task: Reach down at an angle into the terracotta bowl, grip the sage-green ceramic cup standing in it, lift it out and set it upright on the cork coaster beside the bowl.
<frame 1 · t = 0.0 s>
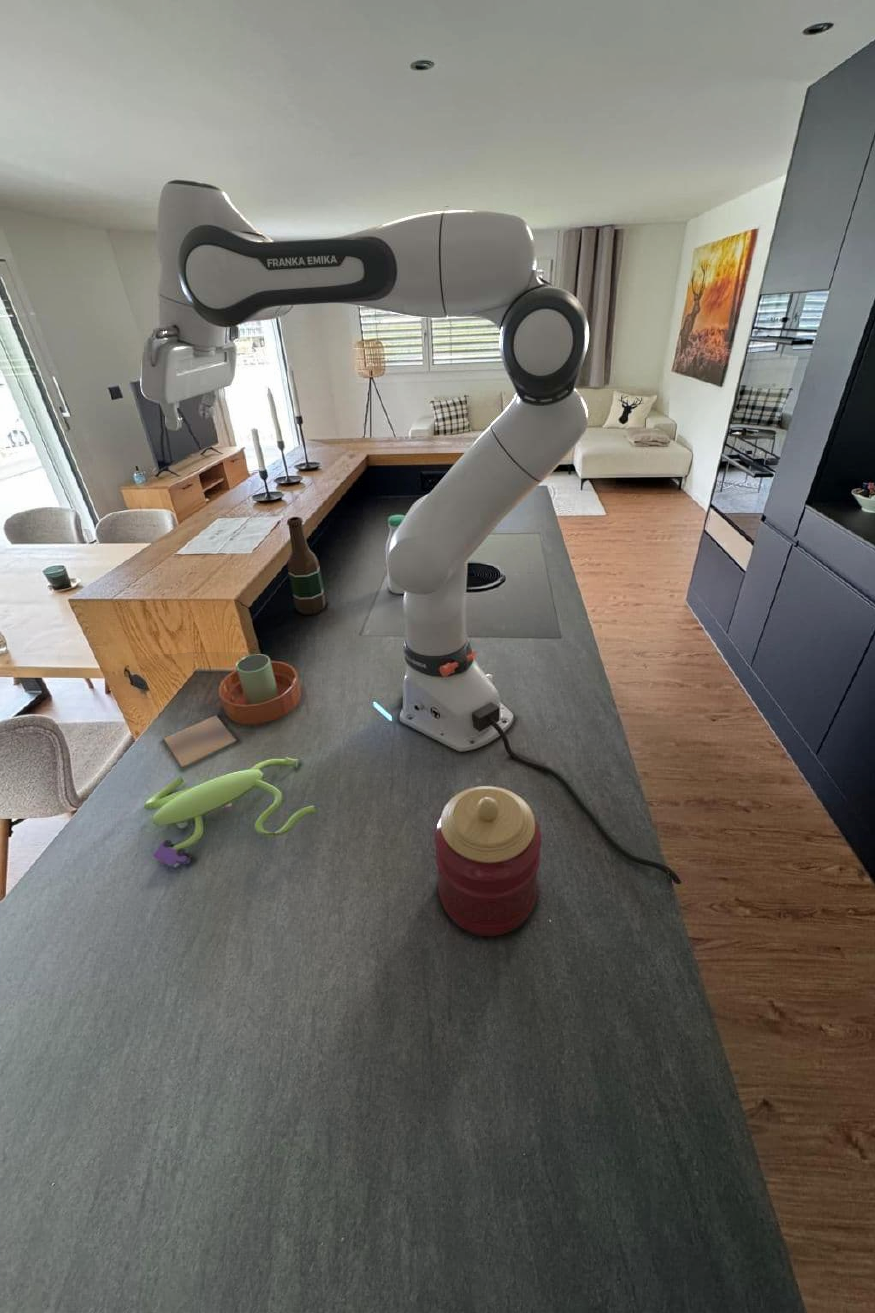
hand: (190, 422, 87), 52 cm above the counter, tool tilted 20°, fingers open, 8 cm apart
milk bottle: (403, 589, 152), on the counter
coaster: (200, 742, 102), on the counter
kitchen canister: (487, 893, 74), on the counter
bowl: (264, 702, 111), on the counter
beer bottle: (311, 608, 145), on the counter
cup: (263, 700, 111), point 1 cm above the counter, touching bowl
figurine: (236, 815, 88), on the counter
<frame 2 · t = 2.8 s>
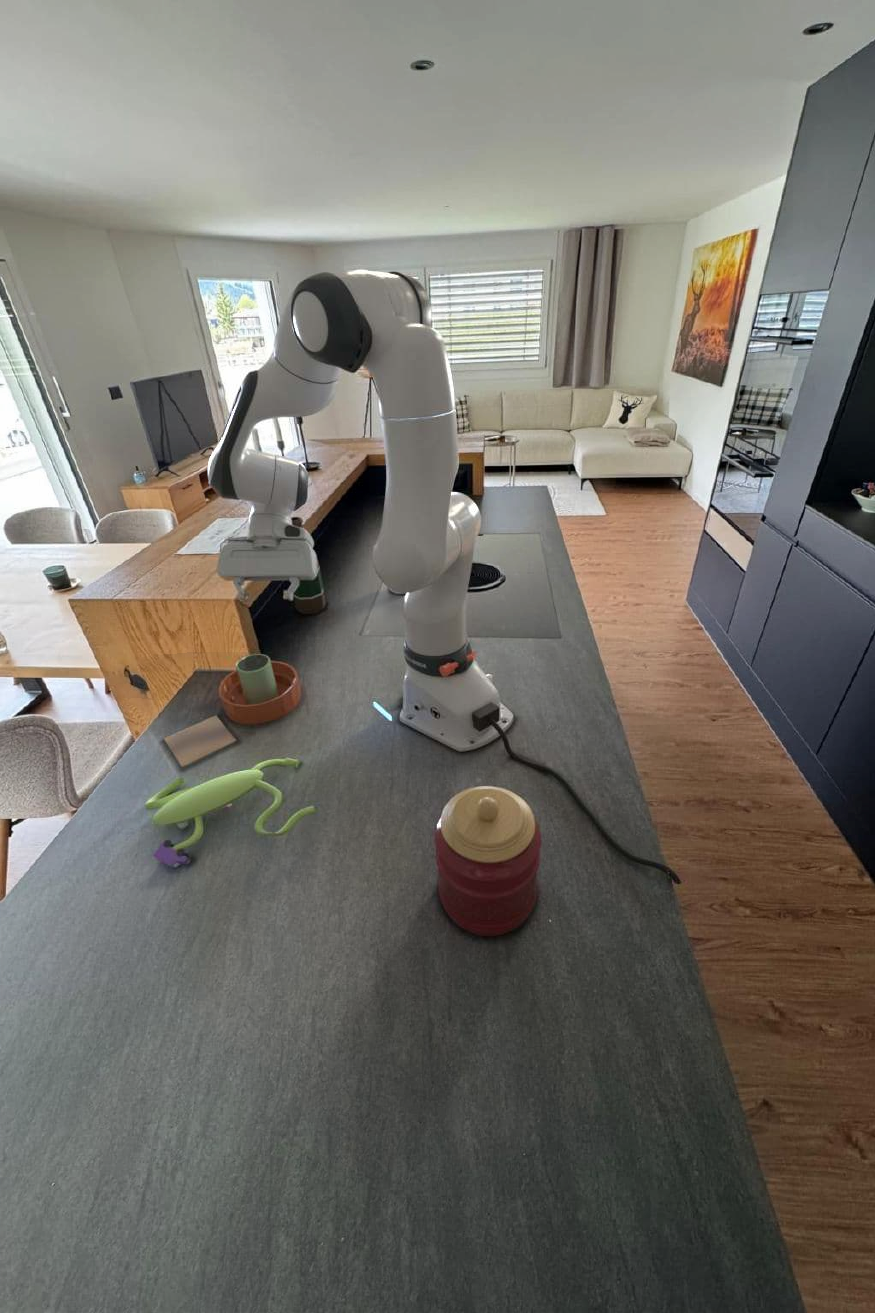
hand: (265, 600, 113), 17 cm above the counter, tool tilted 45°, fingers open, 8 cm apart
nothing on the counter moved.
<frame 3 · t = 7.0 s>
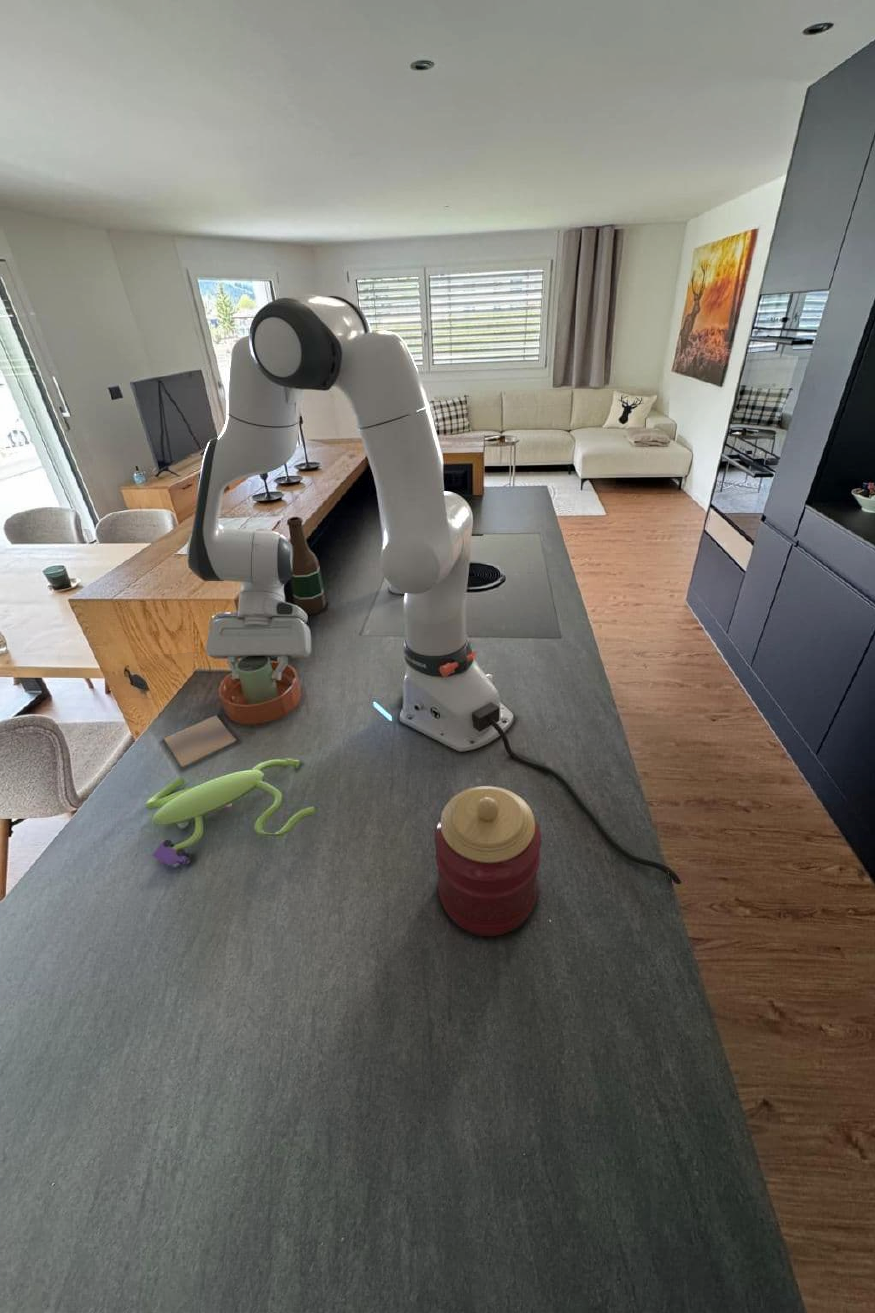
hand: (256, 680, 108), 6 cm above the counter, tool tilted 45°, fingers closed on cup, 6 cm apart
cup: (263, 700, 111), point 1 cm above the counter, touching bowl, gripper
everything else where it was.
when the fingers open (6 cm above the counter, at t = 16.3 s): cup stays where it is, resting on coaster.
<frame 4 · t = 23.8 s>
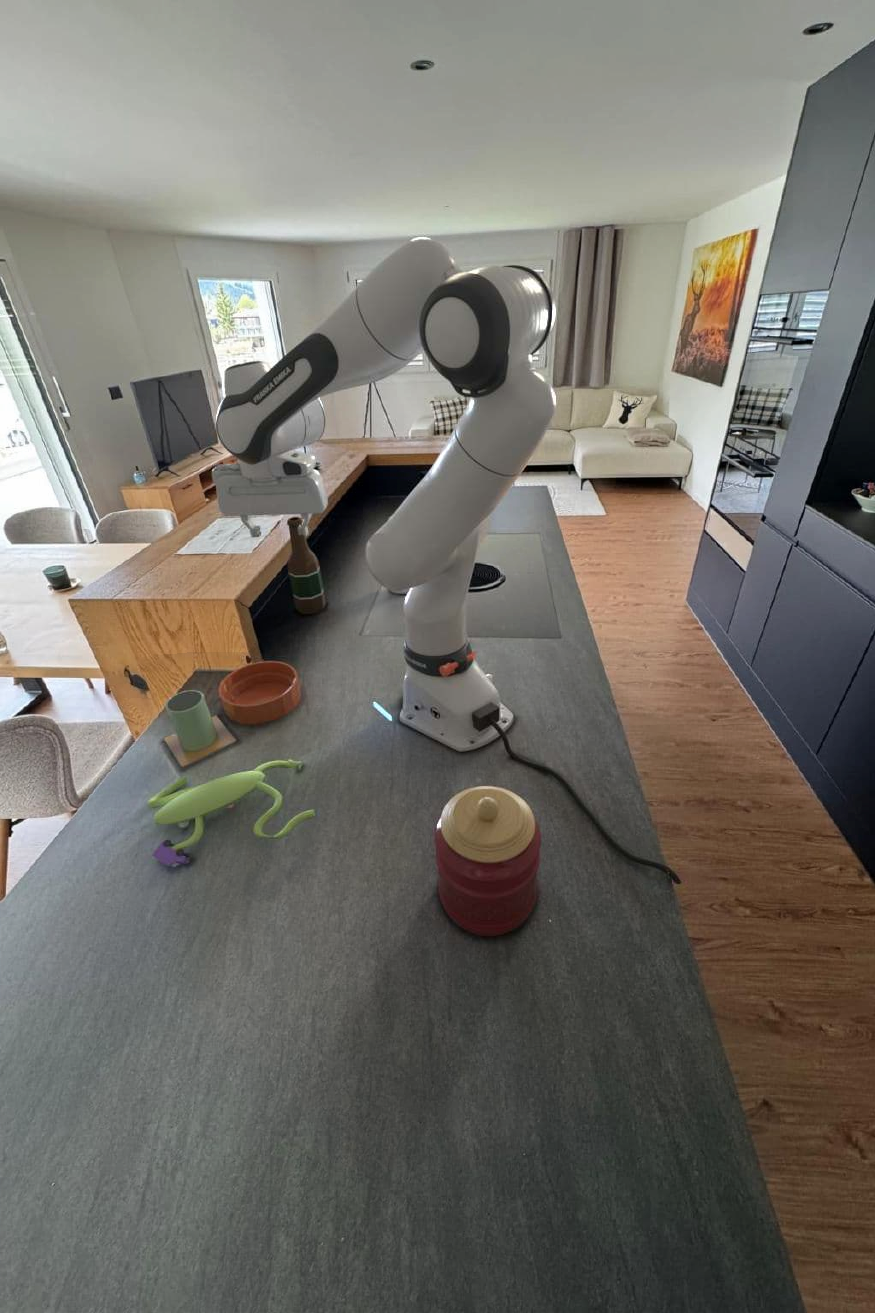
hand: (280, 535, 108), 29 cm above the counter, tool pointing down, fingers open, 8 cm apart
cup: (199, 739, 102), point 1 cm above the counter, touching coaster
everything else where it was.
at the end: cup inside the target area on the coaster (0.1 cm from its centre), point 0.6 cm above the coaster's base; cup tilted 0°; cup touching coaster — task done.
